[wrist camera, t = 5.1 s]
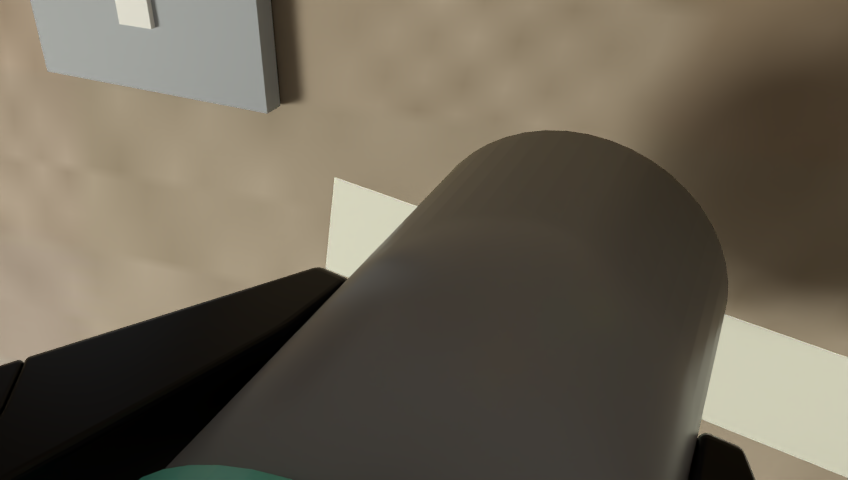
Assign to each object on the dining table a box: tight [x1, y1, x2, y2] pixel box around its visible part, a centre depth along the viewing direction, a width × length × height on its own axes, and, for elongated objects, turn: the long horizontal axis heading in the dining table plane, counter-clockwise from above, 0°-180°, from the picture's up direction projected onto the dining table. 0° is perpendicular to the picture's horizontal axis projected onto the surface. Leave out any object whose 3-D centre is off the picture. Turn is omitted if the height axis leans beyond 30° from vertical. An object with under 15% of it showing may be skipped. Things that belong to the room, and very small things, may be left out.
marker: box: [139, 130, 728, 480], centre depth 8 cm, size 4×4×7 cm
